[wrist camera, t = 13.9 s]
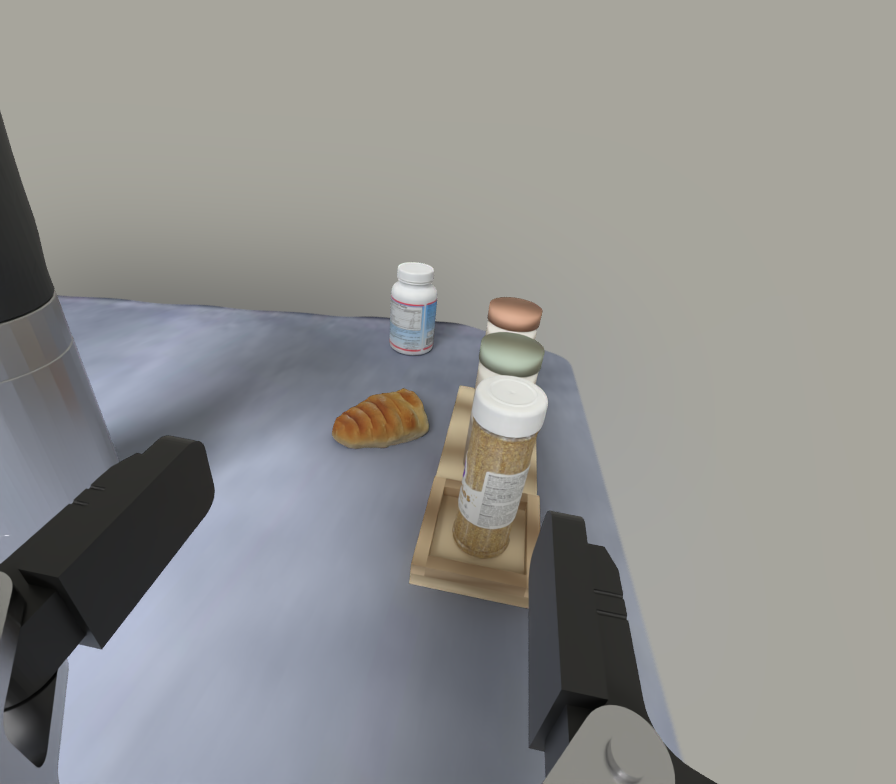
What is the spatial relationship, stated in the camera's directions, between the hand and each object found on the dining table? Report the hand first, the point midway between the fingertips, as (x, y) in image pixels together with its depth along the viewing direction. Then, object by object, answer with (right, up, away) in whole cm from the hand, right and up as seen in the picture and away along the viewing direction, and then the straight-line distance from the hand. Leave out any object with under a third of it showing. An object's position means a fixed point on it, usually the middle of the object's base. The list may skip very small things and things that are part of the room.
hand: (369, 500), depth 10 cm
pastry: (-5, -2, +37) cm, 37 cm away
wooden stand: (+5, -5, +32) cm, 33 cm away
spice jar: (+4, -9, +25) cm, 27 cm away
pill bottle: (-3, +9, +53) cm, 54 cm away
